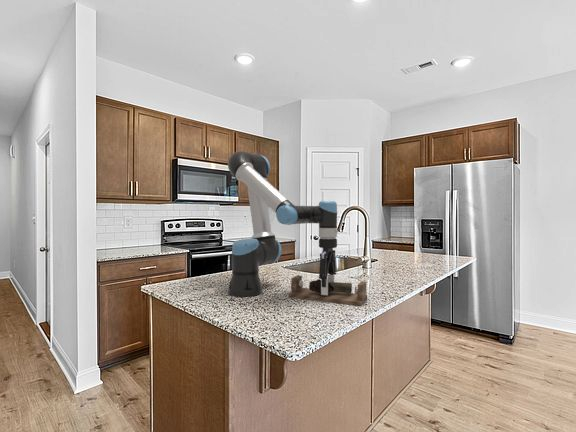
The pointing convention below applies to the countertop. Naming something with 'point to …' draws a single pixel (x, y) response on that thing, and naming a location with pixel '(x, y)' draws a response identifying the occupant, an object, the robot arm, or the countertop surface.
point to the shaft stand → (332, 297)
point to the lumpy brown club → (331, 287)
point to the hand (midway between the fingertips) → (327, 292)
